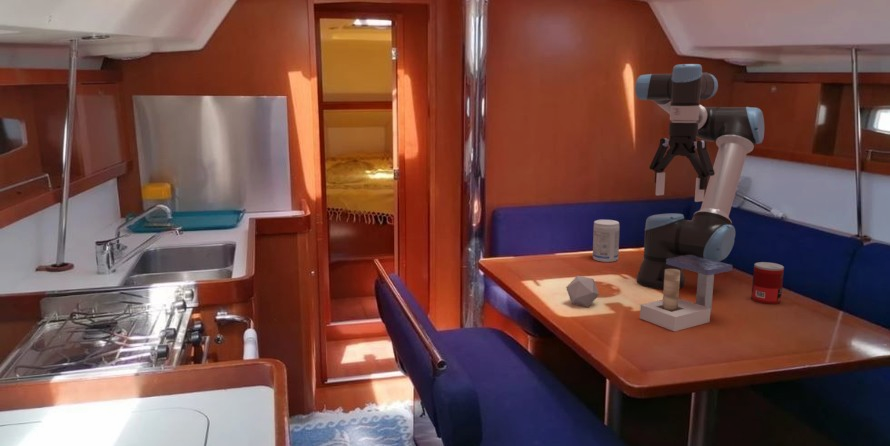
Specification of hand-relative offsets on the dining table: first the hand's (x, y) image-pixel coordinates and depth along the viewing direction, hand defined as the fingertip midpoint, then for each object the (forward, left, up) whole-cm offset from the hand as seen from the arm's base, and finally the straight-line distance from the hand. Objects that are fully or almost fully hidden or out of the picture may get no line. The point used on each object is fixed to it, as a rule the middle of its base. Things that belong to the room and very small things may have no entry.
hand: (678, 198), depth 179 cm
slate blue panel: (+7, +1, -33) cm, 33 cm away
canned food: (+9, +31, -33) cm, 46 cm away
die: (-17, -19, -33) cm, 42 cm away
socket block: (+7, -7, -33) cm, 34 cm away
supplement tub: (-53, +25, -33) cm, 67 cm away
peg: (+7, -9, -32) cm, 34 cm away
